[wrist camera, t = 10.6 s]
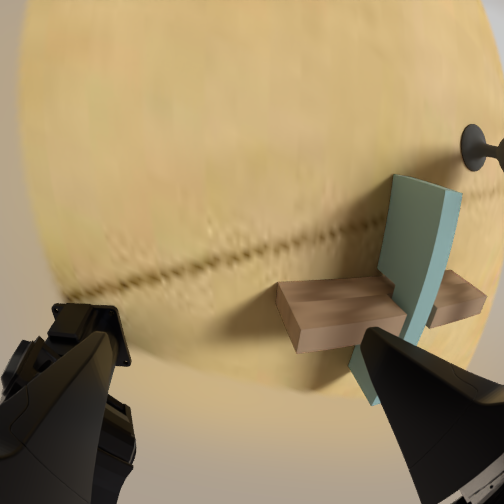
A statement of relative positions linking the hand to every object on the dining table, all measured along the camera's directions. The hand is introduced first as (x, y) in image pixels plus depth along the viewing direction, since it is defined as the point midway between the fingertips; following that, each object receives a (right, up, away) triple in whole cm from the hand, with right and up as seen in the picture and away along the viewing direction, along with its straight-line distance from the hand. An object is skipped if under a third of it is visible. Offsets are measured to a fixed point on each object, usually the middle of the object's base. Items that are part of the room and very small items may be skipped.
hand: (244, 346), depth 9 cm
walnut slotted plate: (+12, 0, +15) cm, 19 cm away
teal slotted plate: (+12, 0, +15) cm, 19 cm away
